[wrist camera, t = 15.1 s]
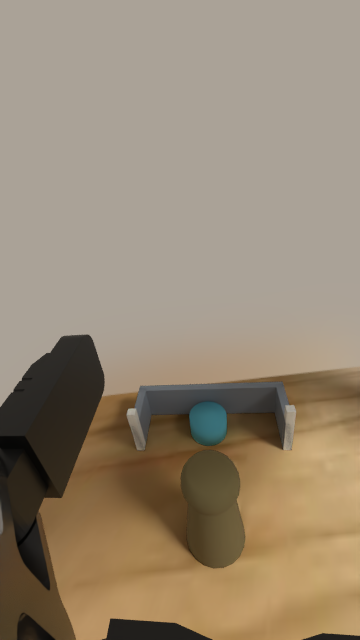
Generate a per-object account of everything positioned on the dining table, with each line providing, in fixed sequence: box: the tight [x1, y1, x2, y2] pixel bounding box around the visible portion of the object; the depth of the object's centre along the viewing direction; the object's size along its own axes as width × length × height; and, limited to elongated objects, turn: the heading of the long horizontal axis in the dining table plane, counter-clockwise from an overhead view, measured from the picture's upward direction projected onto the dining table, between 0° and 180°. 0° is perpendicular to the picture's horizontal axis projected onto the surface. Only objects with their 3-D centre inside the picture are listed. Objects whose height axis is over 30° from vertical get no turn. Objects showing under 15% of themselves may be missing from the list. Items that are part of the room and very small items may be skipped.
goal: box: [127, 382, 296, 450], centre depth 41 cm, size 20×7×7 cm, turn 86°
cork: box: [181, 450, 245, 568], centre depth 29 cm, size 6×6×11 cm
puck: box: [189, 401, 227, 446], centre depth 42 cm, size 5×5×3 cm
